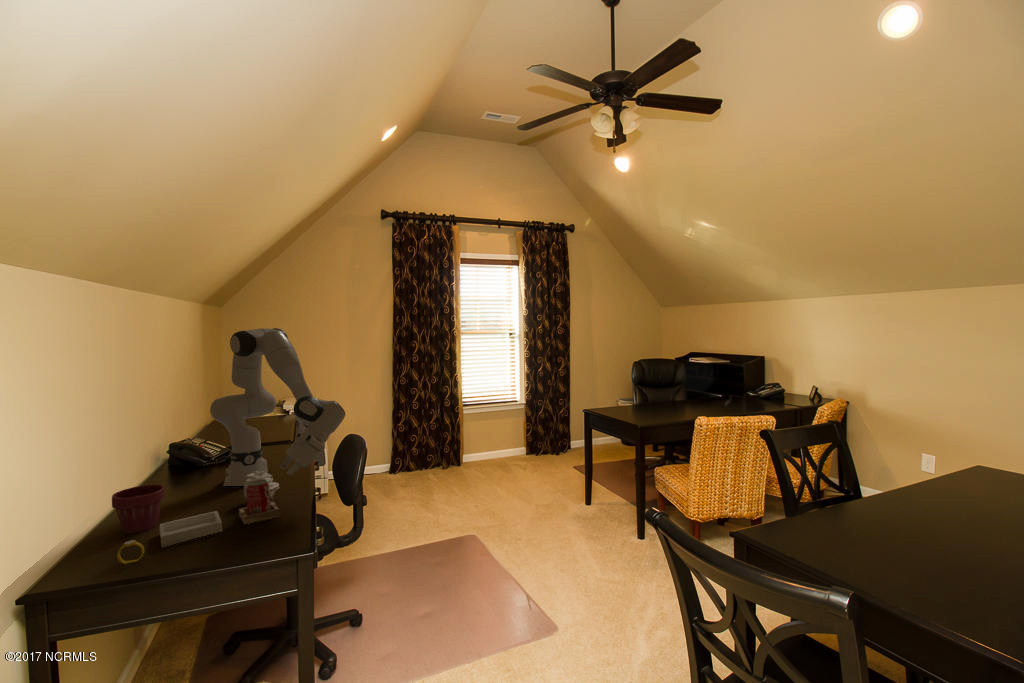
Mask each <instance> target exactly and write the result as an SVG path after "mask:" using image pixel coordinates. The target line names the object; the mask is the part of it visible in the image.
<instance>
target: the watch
mask: <svg viewBox="0 0 1024 683" xmlns="http://www.w3.org/2000/svg"><path fill="white" fill-rule="evenodd" d="M131 546H138V547H139V549H141V553H140V554H141V555H140V556H138V558H137V559H131V560H124V558H122V556H121V552H122V549H124V548H125V547H127V548H128V547H131ZM144 554H145V546H144V545H143V544H142V543H141V542H140V541H139V542H138V541H137V540H136V539H133V540H132V539H131V540H128V541H125V542H124V543H123V545H121V547H120V548H119V550H118V551H117V553H116V559H117V560H118V562H119V563H121V564H123V565H128V564H132V563H137V562H139V561H140V560H141V559H142V558H143V556H144Z"/></svg>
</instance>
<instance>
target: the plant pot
mask: <svg viewBox="0 0 1024 683" xmlns="http://www.w3.org/2000/svg"><path fill="white" fill-rule="evenodd" d="M165 495H166V492H165V486H164V485H162V484H157V483H156V484H154V483H153V484H145V485H139V486H133V487H129V488H125V489H121V490H118V491H117V492H115V493H112V495H111V507H112V508H113V509H115V511H116V514H117V518H118V520H119V523H120V526H121V528H122V533H124V534H136V533H137V534H138V533H142V532H145V531H148V530H151V529H153V528H154V527H156V526H157V525H158V522H159V517H160V512H161V507H162V500H163V499H165V497H166V496H165Z"/></svg>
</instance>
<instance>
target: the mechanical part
mask: <svg viewBox="0 0 1024 683" xmlns="http://www.w3.org/2000/svg"><path fill="white" fill-rule="evenodd" d="M268 474H269V472H268V473H266V472H265V471H261V472H260V473H259V471H255V473H251V474H249V475H247V480H246V483H244V487H243V496H244V498H245V499H246V500H247V488H248V486H249V485H248V484H249V483H251V482H253V481H254V479H255V481H258V480H266V481H267V484H268V485H269V492H270V500H273V499H274V498H273V496H274V495H275V492H276V491H278V490H279V489H280V483H279V482H275V481H274V478H273V477H272V478H271V477H270V478H268V477H267V476H268ZM266 477H267V478H266Z"/></svg>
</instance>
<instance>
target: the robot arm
mask: <svg viewBox="0 0 1024 683" xmlns="http://www.w3.org/2000/svg"><path fill="white" fill-rule="evenodd" d="M229 346H230V349H231V351H232V352H233V355H232V356H233V358H232V365H231V378H230V379H231V382H232V384H233V385H234V386H236V387H238V388H241V389H244V393H241V394H239V393H238V394H232V395H225V396H222V397H219V398H215V399H214V400H213V402H212V403H211V405H210V409H209V412H210V416H211V417H212V418H213V419H214V420H215V421H216V422H218V423H220V424H222V426H224V427H225V428H226V430H227V431H228V433H229V436H230V441H231V453H230V460H231V462H230V464H229V466H227V467H228V468H225V475H226V477H225V479H224V482H223V486H244V483H246V480H247V475H249V474H251V473H255V471H259V473H260V472H261V471H265V472H266V473H268V476H267V477H268V478H270V477H272V478H273V475H272V474H270V473H269V472H268V464H267V463H268V462H267V460H266V459H265V458H263V456H264V455H263V454H264V453H263V448H262V445H261V442H262V440H261V433H260V432H261V431H259V429H258V428H256V427H254V426H251V425H248V424H247V423H246V419H252V418H253V419H254V418H259V417H260V418H261V417H263V416H266V415H270V414H272V413H273V412H275V411H274V410H276V407H277V406H276V405H277V401H276V398H275V396H274V395H273V394H272V392H269V391H268V390H267V389H266V388H265V387H264V385H263V382H262V367H263V356H264V358H265V360H266V362H267V364H268V366H269V368H270V369H271V370H272V372H274V374H275V375H276V376H277V377H278V378H279V379H280V380H281V381H282V382H283V383H284V384H285V385H286V386H287V387H288V389H289V390H290V392H291V393H292V395H293V397H294V399H295V400H296V401H295V403H294V404H293V413H294V415H295V417H296V418H297V420H299V421H300V422H301V424H302V425H303V427H305V429H304V430H303V431H302V433H301V434H299V438H297V439H296V440H295V441H294V442H293V443H291V445H290V446H289V447H288V448H287V449H286V451H285V455H287V456H286V457H285V458H284V460H283V463H281V465H280V468H281V469H282V470H286V469H287V468H288V466H289V465H290V463H291V462H292V461H294V463H293V465H292V466H291V467H289V468H288V470H286V474H288V475H289V476H292V475H293V474H294V473H295V472H296V471H298V470H299V469H300V468H301V467H302V468H304V469H305V468H306V467H308V466H309V465H311V463H313V461H314V460H315V459H316V458H317V457H318V456H319V454H320V453H323V451H324V450H325V448H326V442H327V441H328V440H329V438H330V435H332V434H333V433H334V432H335V431H336V430H337V429H338V428H339V426H340V425H341V423H343V421H344V419H345V417H346V411H345V410H344V408H343V406H342V405H341V404H340V403H339V402H337V401H336V400H324V399H319V398H316V397H314V396H313V394H312V392H311V390H310V387H309V386H308V384H307V381H306V379H305V376H304V372H303V368H302V366H301V362H300V359H299V357H298V353H297V351H296V349H295V347H294V346H293V344H292V342H291V341H290V339H289V336H288V335H287V333H286V331H285V330H283V329H281V328H278V327H277V328H274V327H273V328H266V327H265V328H256V329H249V330H240V331H239V330H238V331H236V332H234V333H233V334H232V335H231V338H230V340H229ZM267 477H266V478H267ZM254 481H255V479H254Z"/></svg>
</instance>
